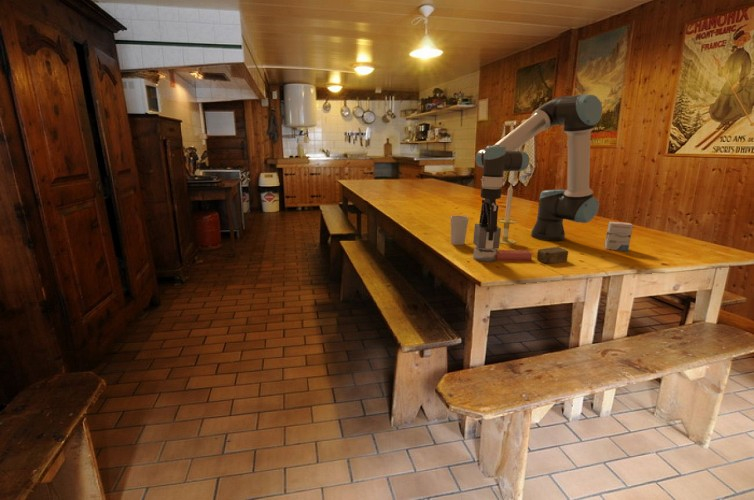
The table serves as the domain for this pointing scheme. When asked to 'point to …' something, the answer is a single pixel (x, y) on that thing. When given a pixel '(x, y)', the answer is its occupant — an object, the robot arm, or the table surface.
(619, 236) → the ink box
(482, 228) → the socket
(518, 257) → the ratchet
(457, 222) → the cup
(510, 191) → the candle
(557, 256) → the stone block
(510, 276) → the table surface
